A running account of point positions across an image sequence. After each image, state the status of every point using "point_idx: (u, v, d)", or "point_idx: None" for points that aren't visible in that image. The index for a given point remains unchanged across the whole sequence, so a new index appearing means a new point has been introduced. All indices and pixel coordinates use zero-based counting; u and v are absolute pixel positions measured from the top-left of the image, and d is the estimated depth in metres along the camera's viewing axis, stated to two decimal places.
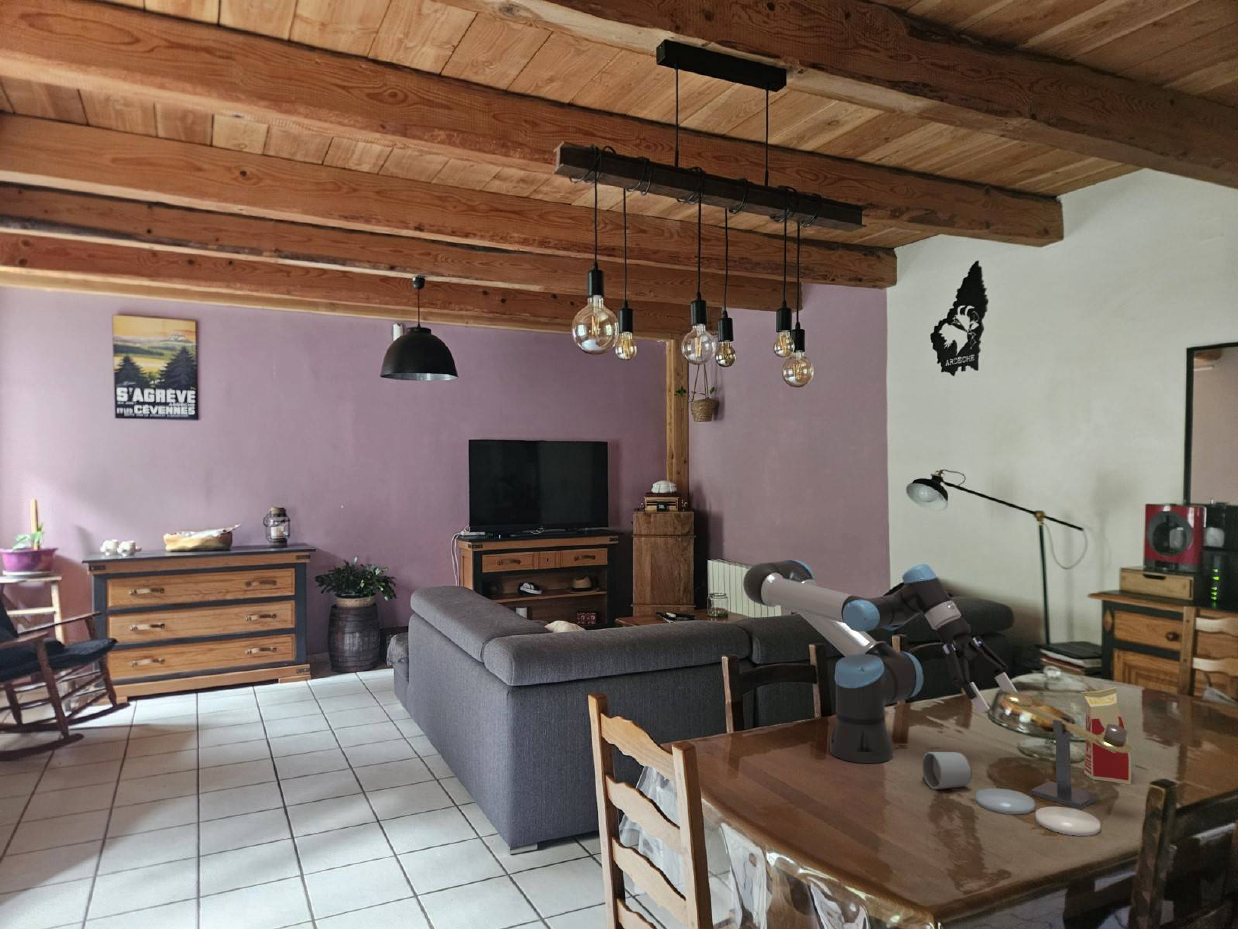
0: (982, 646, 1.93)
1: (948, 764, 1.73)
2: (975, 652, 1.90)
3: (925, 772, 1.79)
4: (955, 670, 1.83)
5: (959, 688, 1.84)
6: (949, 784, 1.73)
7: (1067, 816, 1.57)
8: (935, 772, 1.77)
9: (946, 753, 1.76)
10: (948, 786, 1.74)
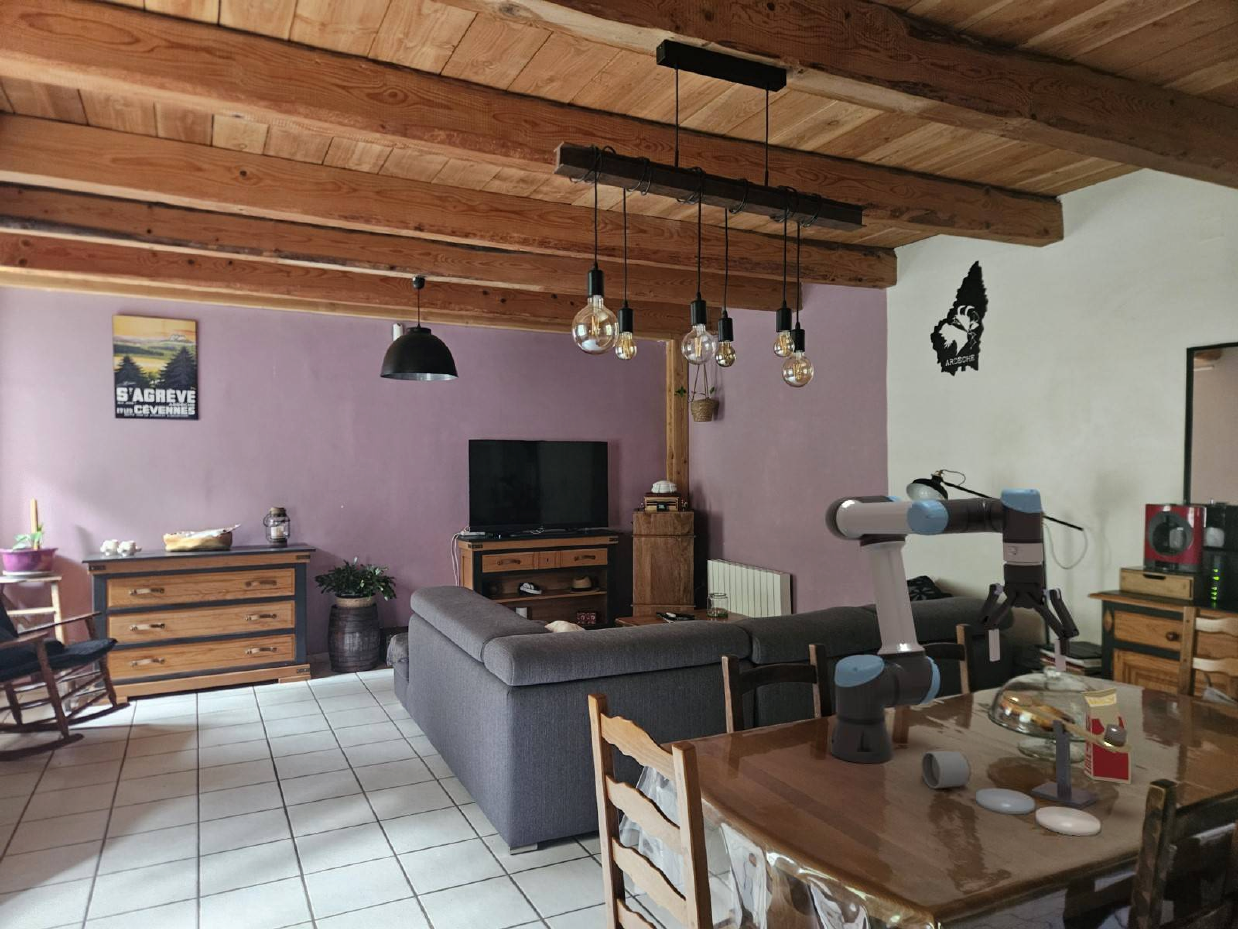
0: None
1: (947, 763, 1.74)
2: (1028, 605, 1.64)
3: (924, 771, 1.79)
4: None
5: (993, 627, 1.73)
6: (948, 783, 1.74)
7: (1067, 816, 1.57)
8: (934, 771, 1.77)
9: (945, 752, 1.77)
10: (947, 785, 1.74)
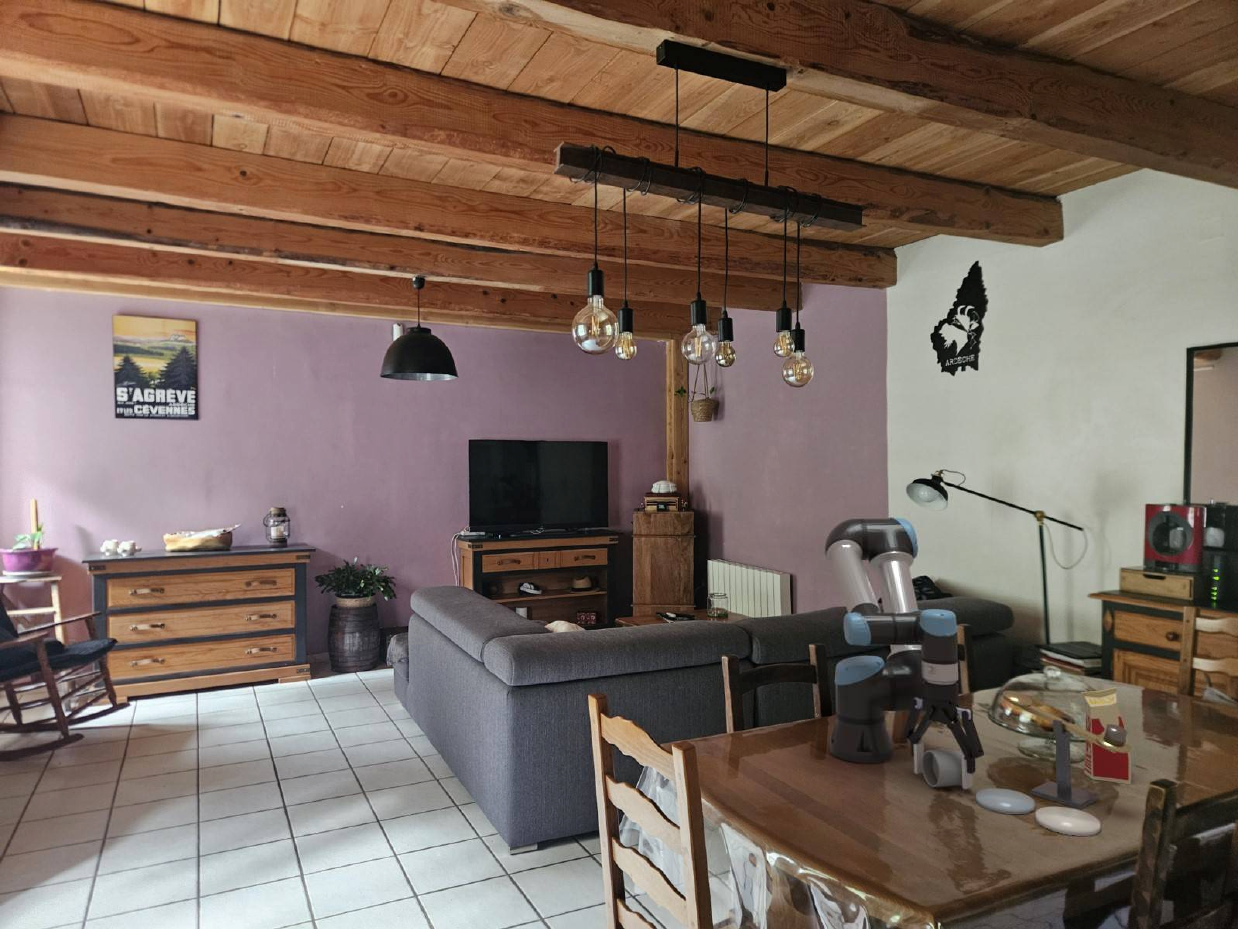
0: None
1: (947, 762, 1.74)
2: (944, 721, 1.76)
3: (925, 770, 1.80)
4: None
5: (919, 740, 1.84)
6: (948, 782, 1.74)
7: (1067, 816, 1.57)
8: (934, 770, 1.77)
9: (945, 752, 1.77)
10: (947, 784, 1.74)
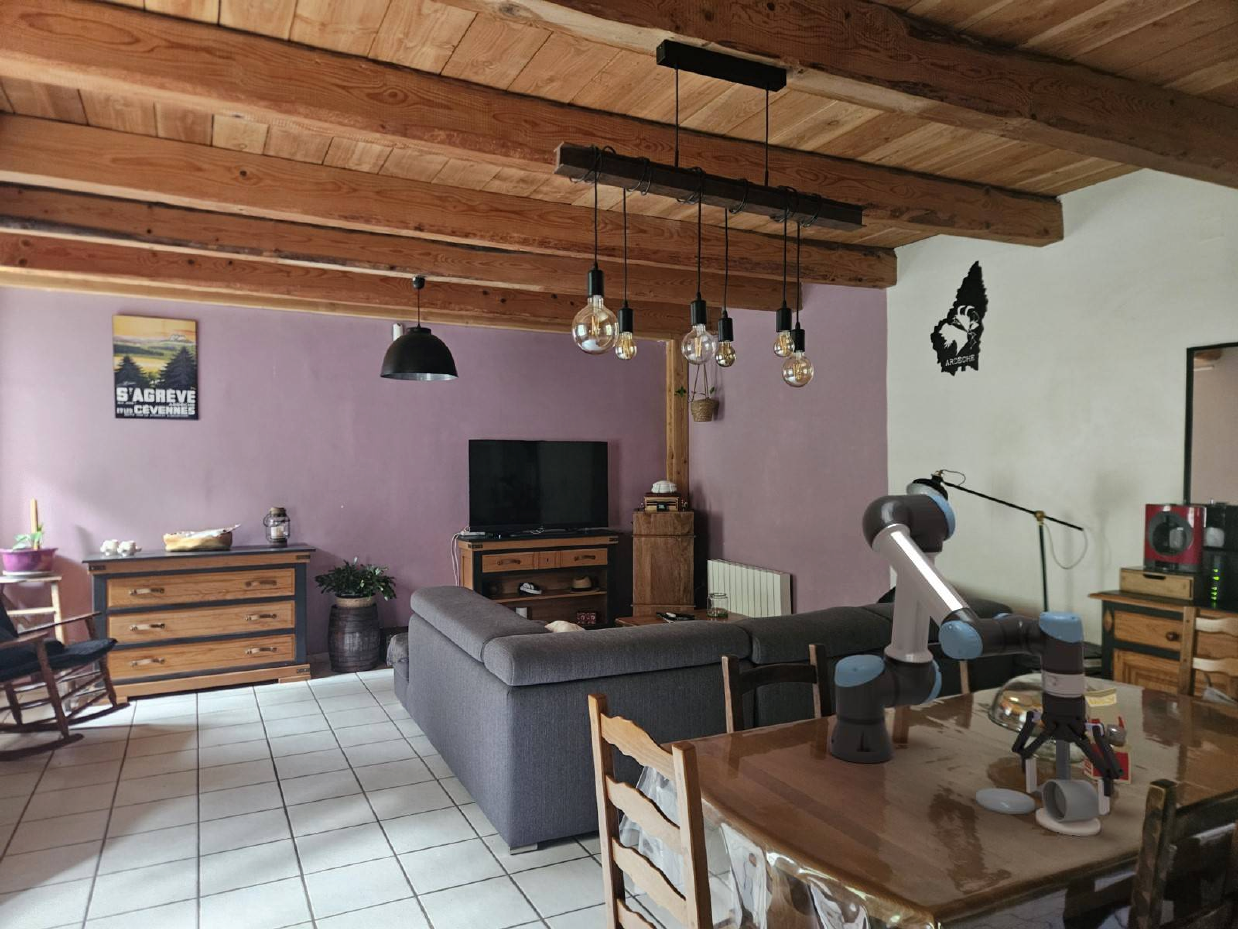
0: None
1: (1075, 794, 1.53)
2: (1069, 738, 1.55)
3: (1045, 802, 1.58)
4: None
5: None
6: (1076, 817, 1.52)
7: None
8: (1058, 802, 1.56)
9: (1071, 781, 1.56)
10: (1074, 819, 1.53)
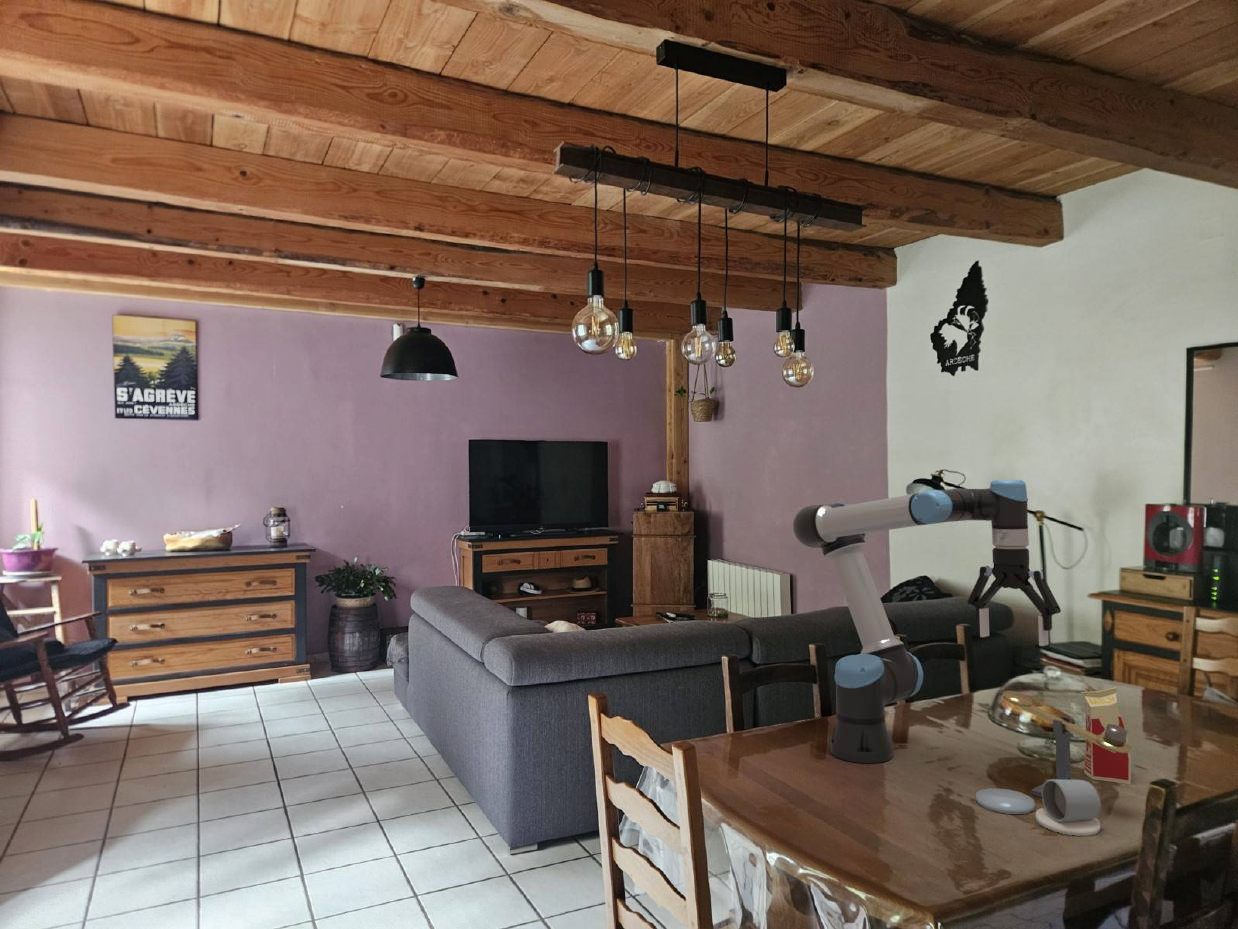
0: None
1: (1074, 794, 1.53)
2: (1015, 585, 1.80)
3: (1045, 802, 1.59)
4: None
5: (984, 606, 1.89)
6: (1076, 817, 1.53)
7: None
8: (1058, 802, 1.56)
9: (1071, 781, 1.56)
10: (1074, 819, 1.53)
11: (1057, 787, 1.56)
